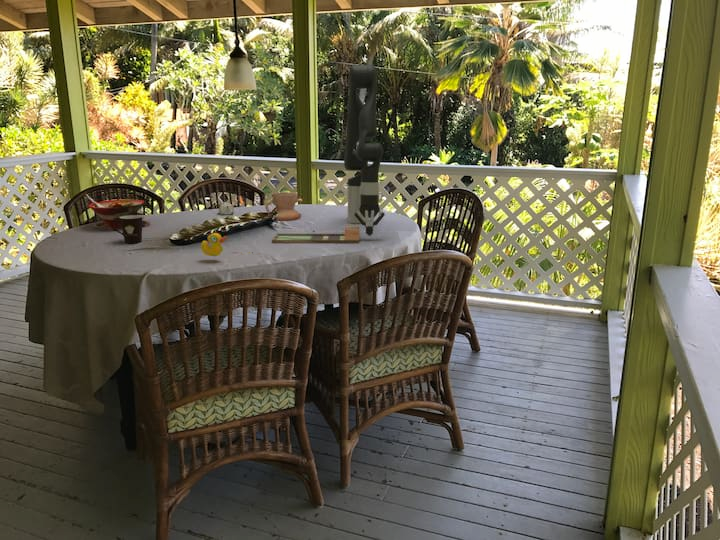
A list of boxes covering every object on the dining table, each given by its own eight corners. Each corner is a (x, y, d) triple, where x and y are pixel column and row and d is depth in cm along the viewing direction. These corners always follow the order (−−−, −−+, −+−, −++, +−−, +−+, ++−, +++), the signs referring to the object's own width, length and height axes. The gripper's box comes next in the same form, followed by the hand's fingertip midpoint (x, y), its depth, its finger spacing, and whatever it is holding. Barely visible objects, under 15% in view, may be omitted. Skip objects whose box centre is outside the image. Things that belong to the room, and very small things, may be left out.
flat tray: (276, 236, 244) (276, 233, 244) (359, 236, 244) (359, 233, 244) (272, 243, 231) (271, 240, 231) (359, 243, 231) (359, 240, 231)
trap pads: (312, 236, 243) (312, 235, 243) (340, 237, 243) (340, 235, 243) (309, 242, 232) (309, 241, 232) (339, 242, 232) (339, 241, 232)
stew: (73, 231, 254) (68, 195, 250) (113, 223, 276) (110, 189, 272) (123, 236, 245) (119, 198, 241) (161, 226, 266) (158, 192, 262)
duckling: (229, 255, 210) (228, 232, 208) (224, 257, 205) (223, 234, 203) (205, 254, 211) (203, 231, 209) (199, 256, 207) (197, 233, 205)
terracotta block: (344, 237, 240) (344, 226, 239) (359, 237, 240) (359, 226, 239) (344, 240, 235) (344, 229, 233) (359, 240, 235) (359, 229, 233)
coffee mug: (149, 240, 236) (147, 215, 233) (134, 244, 228) (132, 219, 225) (126, 238, 240) (123, 214, 237) (111, 242, 232) (108, 217, 229)
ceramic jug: (299, 219, 288) (298, 190, 284) (306, 224, 274) (305, 194, 271) (263, 221, 282) (262, 192, 279) (268, 226, 269) (267, 195, 265)
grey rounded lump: (231, 221, 281) (229, 200, 278) (214, 220, 283) (213, 200, 280) (238, 218, 289) (237, 198, 287) (222, 217, 291) (221, 198, 289)
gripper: (385, 192, 237) (384, 233, 241) (353, 192, 236) (353, 233, 241) (386, 194, 229) (385, 237, 234) (353, 194, 229) (353, 237, 233)
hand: (369, 235), depth 237 cm, fingers closed
